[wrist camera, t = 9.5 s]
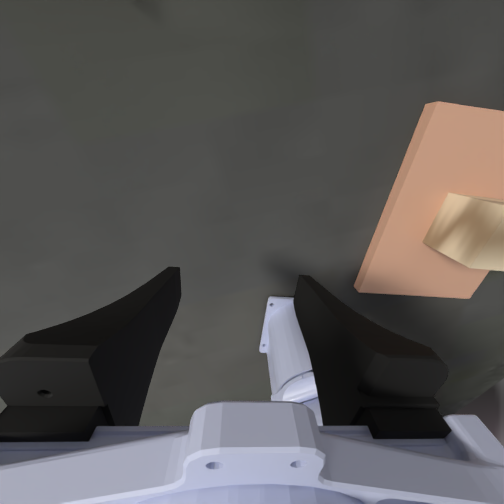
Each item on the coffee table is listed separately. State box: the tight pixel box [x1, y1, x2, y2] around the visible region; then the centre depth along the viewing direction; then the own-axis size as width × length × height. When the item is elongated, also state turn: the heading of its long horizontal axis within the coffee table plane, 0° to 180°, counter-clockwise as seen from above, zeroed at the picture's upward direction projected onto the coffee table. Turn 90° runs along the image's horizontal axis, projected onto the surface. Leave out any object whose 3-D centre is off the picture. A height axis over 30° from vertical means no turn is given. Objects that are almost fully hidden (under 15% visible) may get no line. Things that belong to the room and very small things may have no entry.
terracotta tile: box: [354, 102, 504, 299], centre depth 21 cm, size 18×14×1 cm
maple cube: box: [422, 193, 504, 271], centre depth 18 cm, size 5×5×5 cm
